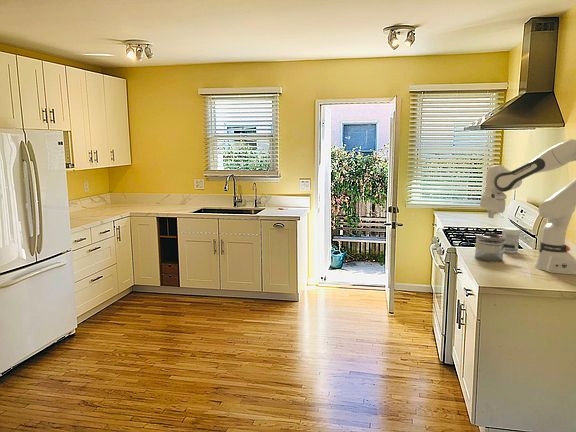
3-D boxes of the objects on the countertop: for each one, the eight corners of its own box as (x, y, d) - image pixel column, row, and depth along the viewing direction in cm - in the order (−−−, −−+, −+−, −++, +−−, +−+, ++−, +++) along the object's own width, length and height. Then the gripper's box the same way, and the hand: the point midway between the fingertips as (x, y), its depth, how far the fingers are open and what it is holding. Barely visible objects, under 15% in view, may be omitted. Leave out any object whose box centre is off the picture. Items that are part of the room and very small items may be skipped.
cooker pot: (512, 258, 273) (514, 240, 271) (513, 265, 259) (515, 246, 257) (475, 253, 282) (476, 236, 280) (473, 260, 268) (475, 241, 266)
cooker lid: (505, 238, 274) (506, 233, 273) (505, 241, 259) (506, 236, 258) (476, 235, 280) (476, 230, 280) (475, 238, 265) (475, 233, 265)
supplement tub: (520, 252, 287) (523, 229, 284) (510, 254, 283) (512, 230, 280) (507, 249, 296) (509, 226, 293) (497, 250, 291) (499, 227, 289)
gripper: (478, 191, 271) (476, 214, 274) (497, 196, 251) (494, 221, 254) (488, 191, 272) (486, 214, 274) (508, 196, 252) (505, 221, 254)
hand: (490, 217), depth 264 cm, fingers closed
